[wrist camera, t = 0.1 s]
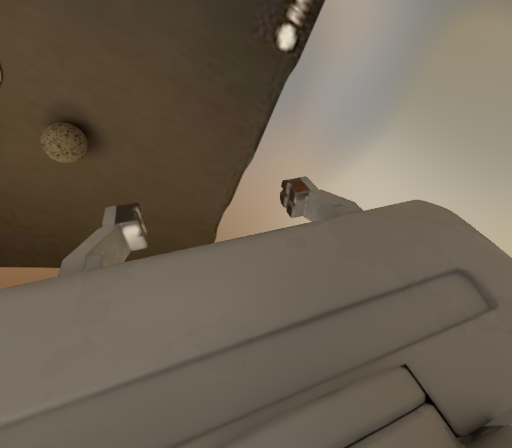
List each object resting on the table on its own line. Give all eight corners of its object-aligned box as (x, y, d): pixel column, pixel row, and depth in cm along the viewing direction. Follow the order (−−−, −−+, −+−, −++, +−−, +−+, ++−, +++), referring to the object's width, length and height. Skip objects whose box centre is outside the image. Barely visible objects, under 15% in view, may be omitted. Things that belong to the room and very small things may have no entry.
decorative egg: (37, 125, 47) (20, 147, 40) (71, 109, 47) (59, 129, 40) (68, 155, 52) (57, 179, 45) (98, 141, 52) (92, 163, 46)
